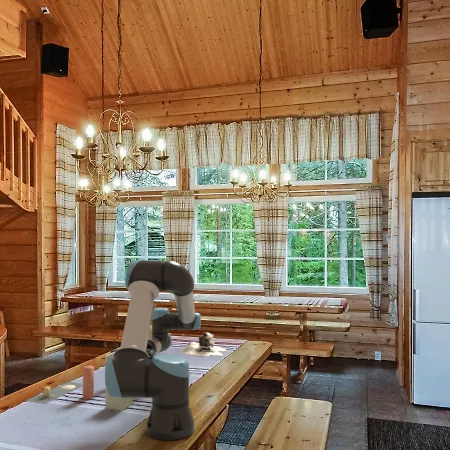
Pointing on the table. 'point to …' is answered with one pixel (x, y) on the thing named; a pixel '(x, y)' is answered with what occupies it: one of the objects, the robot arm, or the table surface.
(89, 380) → the peg
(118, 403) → the pale green block
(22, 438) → the table surface
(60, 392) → the board
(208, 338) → the cabin
